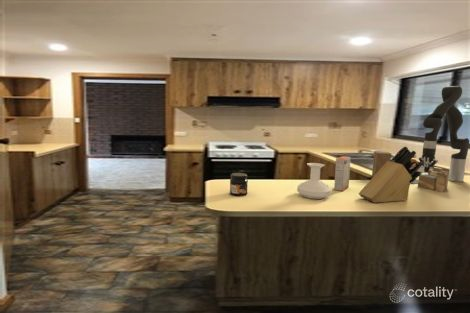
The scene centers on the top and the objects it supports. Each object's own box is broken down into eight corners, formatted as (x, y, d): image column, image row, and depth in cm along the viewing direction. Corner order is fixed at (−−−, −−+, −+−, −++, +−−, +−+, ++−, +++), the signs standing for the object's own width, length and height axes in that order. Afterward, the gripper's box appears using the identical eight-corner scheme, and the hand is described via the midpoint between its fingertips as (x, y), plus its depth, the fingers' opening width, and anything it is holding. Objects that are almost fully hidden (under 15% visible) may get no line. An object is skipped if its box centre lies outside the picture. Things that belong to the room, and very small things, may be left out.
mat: (411, 178, 240) (411, 178, 240) (427, 182, 228) (427, 181, 228) (397, 180, 234) (397, 179, 234) (412, 184, 222) (413, 183, 222)
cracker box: (339, 186, 210) (342, 155, 207) (348, 187, 207) (351, 156, 204) (333, 190, 199) (335, 158, 196) (342, 191, 195) (345, 159, 192)
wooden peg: (430, 174, 212) (430, 169, 211) (449, 177, 200) (449, 173, 200) (427, 174, 211) (428, 170, 210) (446, 178, 199) (446, 173, 199)
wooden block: (388, 179, 235) (391, 153, 232) (374, 178, 237) (377, 152, 234) (385, 176, 245) (387, 151, 242) (371, 176, 247) (374, 151, 244)
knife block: (420, 200, 181) (427, 147, 176) (371, 204, 171) (376, 148, 166) (405, 194, 192) (410, 145, 187) (357, 198, 181) (362, 146, 177)
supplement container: (231, 197, 177) (231, 176, 176) (228, 192, 188) (228, 172, 186) (249, 196, 179) (249, 176, 178) (245, 191, 190) (245, 172, 188)
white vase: (317, 190, 196) (319, 161, 193) (338, 199, 177) (341, 166, 175) (290, 193, 189) (292, 162, 186) (308, 202, 171) (311, 168, 168)
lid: (432, 175, 220) (433, 166, 219) (448, 178, 210) (450, 169, 209) (418, 176, 214) (419, 167, 213) (434, 180, 204) (435, 170, 203)
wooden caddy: (431, 184, 221) (433, 167, 219) (454, 190, 206) (456, 172, 204) (417, 186, 215) (419, 168, 213) (440, 192, 201) (443, 173, 199)
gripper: (442, 148, 205) (439, 174, 208) (424, 146, 218) (421, 170, 220) (435, 148, 203) (432, 174, 205) (416, 146, 215) (413, 170, 217)
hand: (426, 172), depth 213 cm, fingers closed
